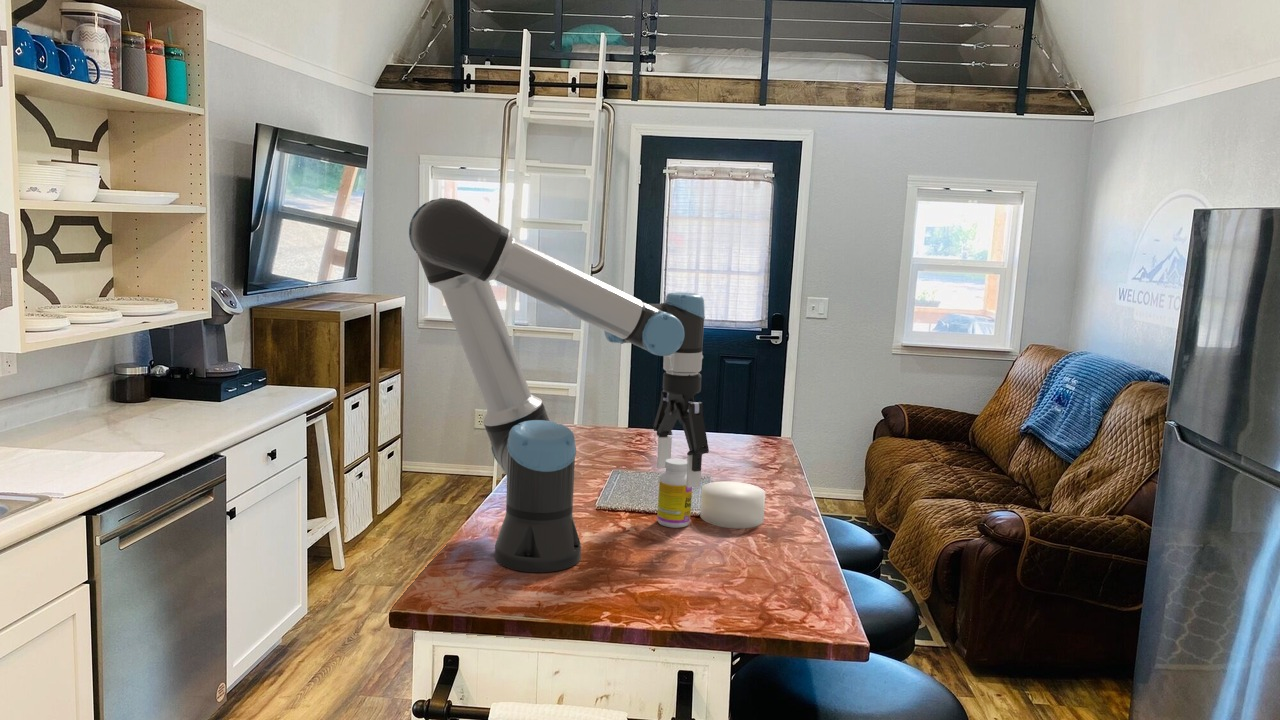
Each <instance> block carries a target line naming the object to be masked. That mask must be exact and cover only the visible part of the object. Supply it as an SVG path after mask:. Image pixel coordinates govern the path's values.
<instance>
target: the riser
mask: <svg viewBox="0 0 1280 720" xmlns="http://www.w3.org/2000/svg"><path fill="white" fill-rule="evenodd" d="M701 487H702V488H701V497H700V498H701V501H700V515H699V517H700V519H701V520H703V521H704V522H706V523H708V524H711V525H712V526H716V527H720V528H727V529H751V528H755V527H758V526H761V525H762V524H763V523H764V519H765V504H766V491H765V490H764V489H763V488H761V487H759V486H757V485H755V484H754V485H753V484H750V483H745V482H739V481H728V480H727V481H726V480H724V481H723V480H722V481H713V482H708V483H706V484H704V485H702V486H701Z"/></svg>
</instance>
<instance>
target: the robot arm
mask: <svg viewBox="0 0 1280 720" xmlns="http://www.w3.org/2000/svg"><path fill="white" fill-rule="evenodd" d="M408 237H409V241H410V244H411V247H412V249H413V250H414V251H415V252H416V254H417V256H418V259H419V262H420V264H421V266H422V268H423V272H424V275H425V277H426V280H427V282H428V284H429V285H430V286H432V287H434V288H436V289H438V290H440V291H441V293H442V297H443V299H444V302H445V305H446V307H447V309H448V313H449V314H450V317H451V320H452V322H453V325H454V328H455V331H456V333H457V335H458V339H459V341H460V344H461V346H462V348H463V351H464V354H465V356H466V359H467V362H468V364H469V366H470V369H471V373H472V375H473V377H474V379H475V382H476V384H477V388H478V391H479V392H480V395H481V398H482V400H483V403H484V405H485V409H486V410H487V411H486V412H485V413H486V414H485V416H484V417H483V420H482V423H483V425H484V428H485V431H486V434H487V436H488V439H489V441H490V446H491V448H490V449H491V452H492V454H493V455H492V456H493V458H494V459H495V461H496V462H497V463H498V465H499V466H500V467H501V469H502V470H503V472H504V474H505V475H506V499H505V500H506V501H505V502H506V507H505V509H506V510H505V515H504V516H505V517H504V519H503V521H502V524H501V527H500V529H499V533H498V536H497V539H496V541H495V545H494V559H495V561H496V562H497V563H498V564H499V565H501V566H502V567H505V568H508V569H510V570H514V571H518V572H519V571H520V572H527V573H551V572H559V571H563V570H566V569H569V568H571V567H574V566H575V565H577V564H578V563H579V562H580V560H581V557H582V555H581V553H582V544H581V542H580V541H581V540H580V538H579V533H578V530H577V527H576V524H575V521H574V516H573V511H574V510H573V509H574V506H573V505H574V487H575V485H574V484H575V461H576V455H577V446H576V439H575V433H574V432H573V431H572V430H571V428H569V427H568V426H566V425H564V424H562V423H558V422H555V421H551V420H550V418H549V416H548V413H547V410H546V408H545V405H544V402H543V400H542V399H541V398H540V397H537V396H536V395H533V394H532V393H531V391H530V388H529V386H528V383H527V380H526V377H525V374H524V373H523V369H522V367H521V364H520V360H519V358H518V355H517V353H516V350H515V348H514V347H515V346H514V345H513V341H512V340H511V337H510V335H509V331H508V329H507V326H506V323H505V320H504V318H503V315H502V312H501V310H500V308H499V304H498V302H497V299H496V296H495V293H494V291H493V288H492V286H491V283H490V282H491V281H492V280H494V281H497V282H499V283H501V284H503V285H505V286H507V287H510V288H511V289H514V290H516V291H518V292H519V293H520V292H521V293H523V294H524V295H527V296H529V297H530V298H534V299H536V300H538V301H539V302H542V303H544V304H546V305H548V306H551V307H553V308H555V309H557V310H559V311H562V312H563V313H566V314H567V315H570V316H572V317H575V318H577V319H579V320H581V321H583V322H585V323H587V324H589V325H592V326H594V327H596V328H597V329H600V330H603V331H604V336H605V338H606V340H607V341H608V342H609V343H612V344H613V343H614V344H621V345H622V344H629V343H630V344H633V345H634V346H637V347H639V348H641V349H642V350H645V351H647V352H648V353H650V354H652V355H654V356H659V357H663V364H662V365H663V367H662V369H663V370H664V371H665V372H663V373H662V374H663V375H662V390H661V392H660V402H659V405H658V408H657V412H656V415H655V418H654V423H653V427H652V429H653V431H654V432H656V436H657V438H658V439H657V440H658V441H657V461H656V462H657V463H656V467H657V469H660V470H661V469H666V468H665V461H666V460H667V459H671V458H672V441H673V437H672V436H673V432H672V431H673V429H674V427H675V424H676V423H677V421H678V422H679V424H680V425H681V426H682V428H683V433H684V436H685V439H686V443H687V445H688V452H687V453H686V455H687V458H686V460H687V480H686V487H688V488H689V487H692V488H697V487H702V486H701V484H702V483H701V482H702V480H701V479H702V464H703V463H702V461H703V455H704V454H708V453H709V451H710V450H709V443H708V436H707V432H706V425H705V419H704V410H703V409H704V408H703V407H704V405H703V401H702V402H701V401H698V402H696V401H695V395H697V394H699V393H701V390H702V374H701V373H700V372H701V371H702V365H703V359H704V355H703V342H704V329H705V319H706V316H705V299H704V296H702V295H701V294H699V293H695V292H694V293H693V292H681V291H680V292H678V291H677V292H669V293H667V295H666V297H665V301H664V302H661V303H647V302H645V301H643V300H641V299H639V298H637V297H635V296H632V295H631V294H628V293H626V292H624V291H622V290H620V289H618V288H616V287H615V286H612V285H610V284H608V283H606V282H604V281H602V280H599V279H598V278H596V277H594V276H591V275H589V274H588V273H585V272H584V271H581V270H579V269H577V268H576V267H574V266H571V265H569V264H567V263H565V262H563V261H561V260H558V259H557V258H555V257H552V256H551V255H549V254H546V253H544V252H542V251H541V250H538V249H536V248H534V247H532V246H530V245H529V244H526V243H524V242H522V241H519V240H518V239H516V238H514V237H513V234H512V231H511V229H509V228H508V227H504V226H503V225H501V224H500V223H498V222H496V221H494V220H493V219H491V218H489V217H487V216H486V215H484V214H483V213H481V212H480V211H478V210H477V209H475V207H473V206H471V205H469V204H468V203H467V202H466V201H465V202H464V201H462V200H459V199H455V198H446V197H440V198H437V199H431V200H429V201H426V202H424V203H423V204H422V205H420V206H419V208H417V210H415V212H414V213H413V216H412V217H411V219H410V222H409V227H408Z"/></svg>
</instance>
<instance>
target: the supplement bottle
mask: <svg viewBox="0 0 1280 720" xmlns="http://www.w3.org/2000/svg"><path fill="white" fill-rule="evenodd" d="M664 469H665V471H663V472H661V473H660V475H659V482H658V500H657V501H658V502H657V516H656V518H657V519H656V520H657V522H658V523H659V524H660V525H661V526H664V527H667V528H674V529H675V528H676V529H678V528H684V527H687V526H689V525H690V524H691V523H690V522H691V514H692V513H691V511H692V497H693V496H692V495H693V487H689V488H688V487H686V480H687V459H684V458H675V457H673V458H672V457H671V459H667V460H666V461H665V468H664Z"/></svg>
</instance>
